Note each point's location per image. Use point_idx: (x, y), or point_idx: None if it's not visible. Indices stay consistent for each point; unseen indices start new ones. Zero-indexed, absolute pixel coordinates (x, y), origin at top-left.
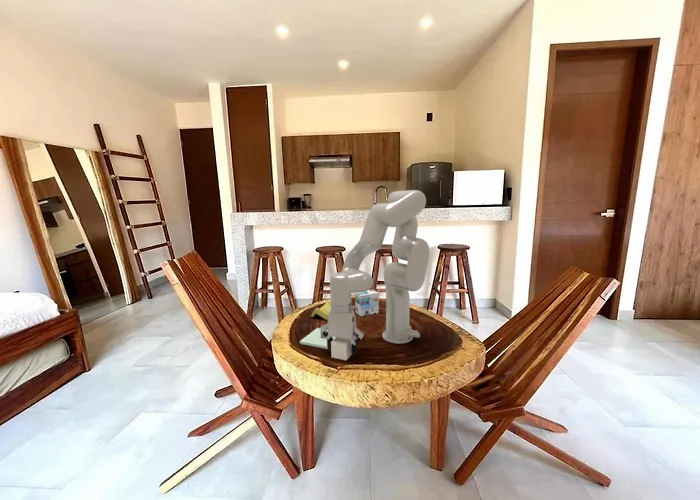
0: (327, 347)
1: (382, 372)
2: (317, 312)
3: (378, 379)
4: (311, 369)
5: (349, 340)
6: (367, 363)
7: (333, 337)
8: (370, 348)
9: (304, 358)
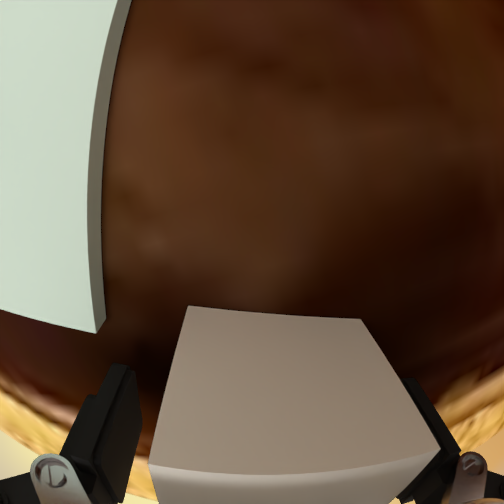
0: (67, 321)
1: (488, 416)
2: None
3: (460, 452)
4: (151, 495)
5: (388, 499)
6: (451, 396)
7: (25, 81)
8: (492, 188)
9: (45, 430)
